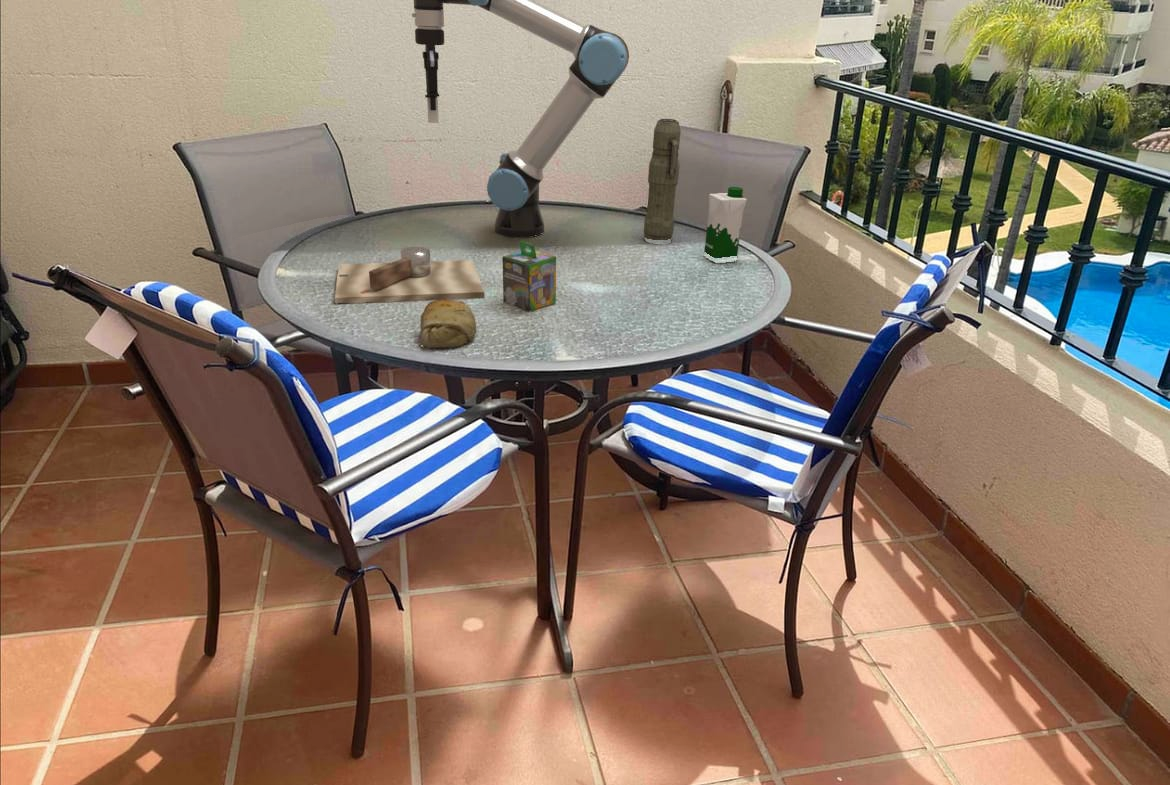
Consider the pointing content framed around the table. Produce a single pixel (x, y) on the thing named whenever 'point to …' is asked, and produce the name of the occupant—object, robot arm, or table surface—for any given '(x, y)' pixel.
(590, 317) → the table surface
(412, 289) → the dial board
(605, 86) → the robot arm
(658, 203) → the thermos
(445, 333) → the pastry
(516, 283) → the chalk box
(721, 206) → the milk carton
